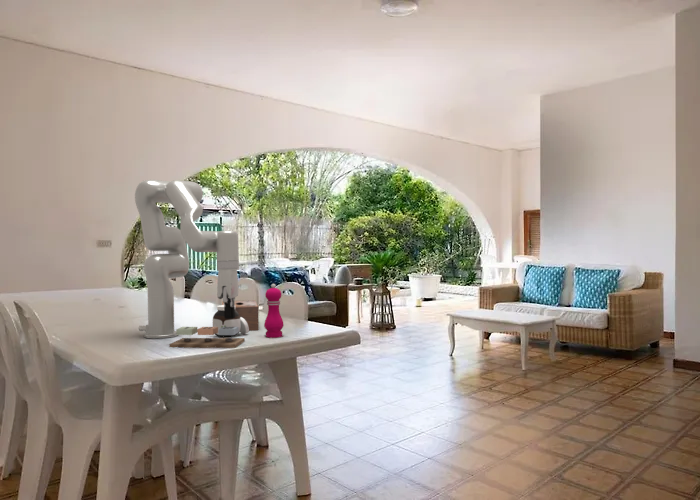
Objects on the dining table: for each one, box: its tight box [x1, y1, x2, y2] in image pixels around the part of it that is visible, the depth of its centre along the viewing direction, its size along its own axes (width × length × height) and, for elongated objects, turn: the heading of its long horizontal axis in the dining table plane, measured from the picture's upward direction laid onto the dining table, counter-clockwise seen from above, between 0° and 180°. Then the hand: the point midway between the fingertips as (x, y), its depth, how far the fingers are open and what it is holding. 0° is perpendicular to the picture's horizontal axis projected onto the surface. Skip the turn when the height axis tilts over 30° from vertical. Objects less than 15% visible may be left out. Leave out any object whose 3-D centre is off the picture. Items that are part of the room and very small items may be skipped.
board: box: [168, 337, 246, 349], centre depth 194 cm, size 23×12×2 cm, turn 86°
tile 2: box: [197, 326, 218, 336], centre depth 194 cm, size 6×6×2 cm
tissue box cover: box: [221, 299, 259, 332], centre depth 234 cm, size 26×14×10 cm, turn 13°
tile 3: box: [219, 327, 240, 335], centre depth 193 cm, size 6×6×2 cm
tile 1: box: [175, 326, 198, 336], centre depth 194 cm, size 6×6×2 cm
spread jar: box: [212, 304, 250, 338], centre depth 212 cm, size 12×11×12 cm
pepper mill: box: [264, 283, 284, 339], centre depth 209 cm, size 7×7×20 cm
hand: (229, 318), depth 193 cm, fingers closed
